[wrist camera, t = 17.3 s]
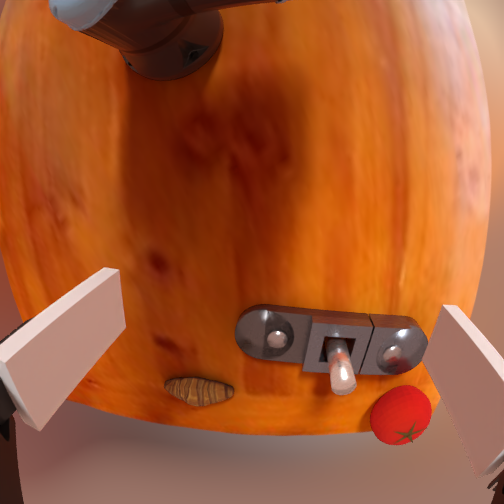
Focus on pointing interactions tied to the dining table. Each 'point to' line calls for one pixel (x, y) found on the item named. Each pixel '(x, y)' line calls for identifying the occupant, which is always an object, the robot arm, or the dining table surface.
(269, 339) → the chain end
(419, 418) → the tomato
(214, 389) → the croissant
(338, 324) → the chain end
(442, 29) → the dining table surface
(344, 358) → the steel pin
